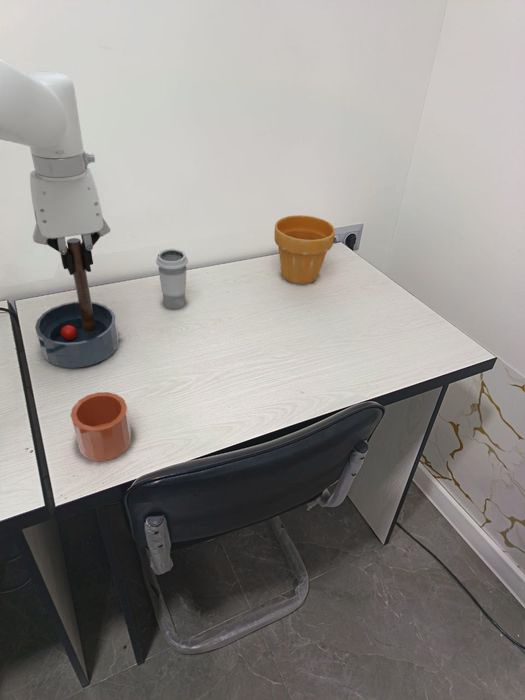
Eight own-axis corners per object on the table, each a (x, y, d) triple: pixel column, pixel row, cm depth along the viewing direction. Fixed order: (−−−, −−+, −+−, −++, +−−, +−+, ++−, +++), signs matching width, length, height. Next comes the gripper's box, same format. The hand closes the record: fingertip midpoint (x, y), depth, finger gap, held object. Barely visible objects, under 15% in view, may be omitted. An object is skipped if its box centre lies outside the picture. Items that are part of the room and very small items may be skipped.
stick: (85, 333, 93) (68, 244, 83) (82, 327, 95) (65, 239, 84) (97, 330, 94) (81, 241, 84) (94, 324, 96) (78, 237, 85)
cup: (159, 295, 113) (155, 247, 106) (188, 294, 114) (186, 247, 107) (159, 312, 108) (155, 263, 100) (190, 311, 109) (188, 262, 101)
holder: (85, 468, 74) (77, 437, 70) (74, 432, 80) (66, 401, 75) (137, 450, 78) (133, 419, 73) (123, 417, 83) (118, 386, 79)
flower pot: (266, 262, 128) (270, 215, 120) (319, 261, 131) (325, 214, 123) (277, 291, 118) (281, 241, 110) (334, 289, 120) (342, 239, 112)
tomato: (59, 342, 96) (56, 326, 95) (66, 339, 99) (63, 324, 98) (74, 340, 95) (72, 325, 95) (80, 338, 98) (78, 323, 98)
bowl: (49, 378, 89) (42, 352, 86) (36, 335, 99) (30, 310, 95) (127, 358, 95) (124, 333, 91) (108, 319, 105) (104, 295, 101)
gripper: (106, 152, 82) (118, 253, 93) (0, 160, 75) (27, 268, 87) (118, 166, 77) (129, 271, 88) (6, 176, 70) (34, 288, 82)
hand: (78, 269), depth 87 cm, fingers closed on stick, 2 cm apart
